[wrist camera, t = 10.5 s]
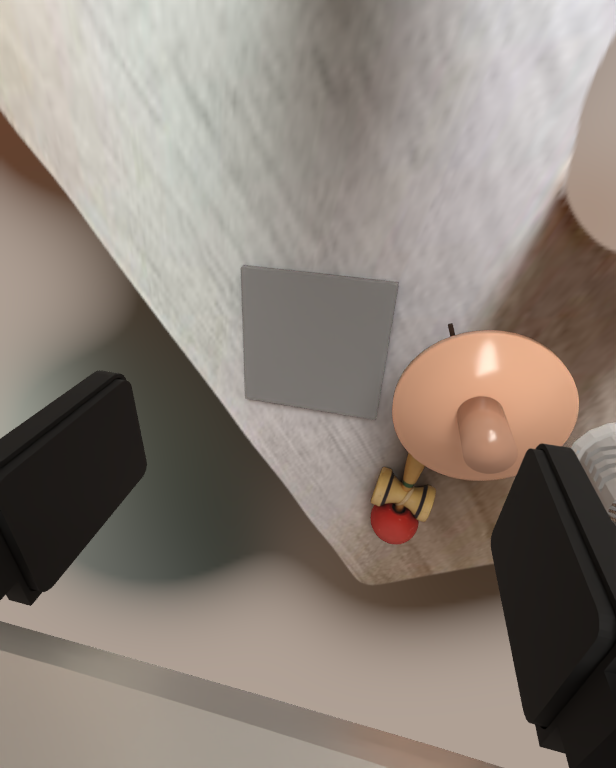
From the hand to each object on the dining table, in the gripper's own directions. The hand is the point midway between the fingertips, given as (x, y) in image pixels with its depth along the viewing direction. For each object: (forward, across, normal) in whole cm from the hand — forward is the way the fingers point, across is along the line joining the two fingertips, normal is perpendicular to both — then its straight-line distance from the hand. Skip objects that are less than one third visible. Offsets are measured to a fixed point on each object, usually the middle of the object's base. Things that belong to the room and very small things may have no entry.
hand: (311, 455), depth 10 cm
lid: (+23, -10, +12) cm, 28 cm away
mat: (+33, +6, +13) cm, 36 cm away
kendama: (+34, -7, +28) cm, 45 cm away
